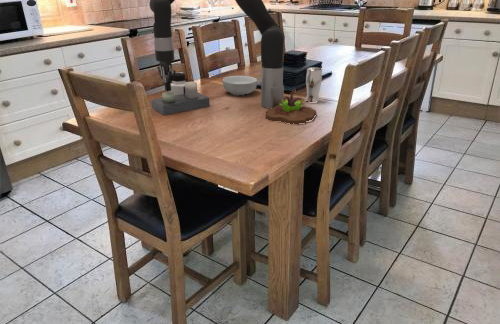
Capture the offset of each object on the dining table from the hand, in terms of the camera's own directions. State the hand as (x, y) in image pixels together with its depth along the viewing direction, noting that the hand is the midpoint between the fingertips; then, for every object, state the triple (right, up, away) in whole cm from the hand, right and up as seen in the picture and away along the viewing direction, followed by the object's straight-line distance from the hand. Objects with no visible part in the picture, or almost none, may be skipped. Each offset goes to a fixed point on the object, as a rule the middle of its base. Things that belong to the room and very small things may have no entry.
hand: (168, 90), depth 171 cm
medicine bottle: (+2, 0, +19) cm, 20 cm away
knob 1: (0, -7, +4) cm, 8 cm away
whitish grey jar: (+9, -2, +8) cm, 12 cm away
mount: (+4, -6, +7) cm, 10 cm away
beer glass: (+63, -3, +15) cm, 65 cm away
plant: (+52, -12, -4) cm, 53 cm away
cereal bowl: (+30, +3, +27) cm, 41 cm away
